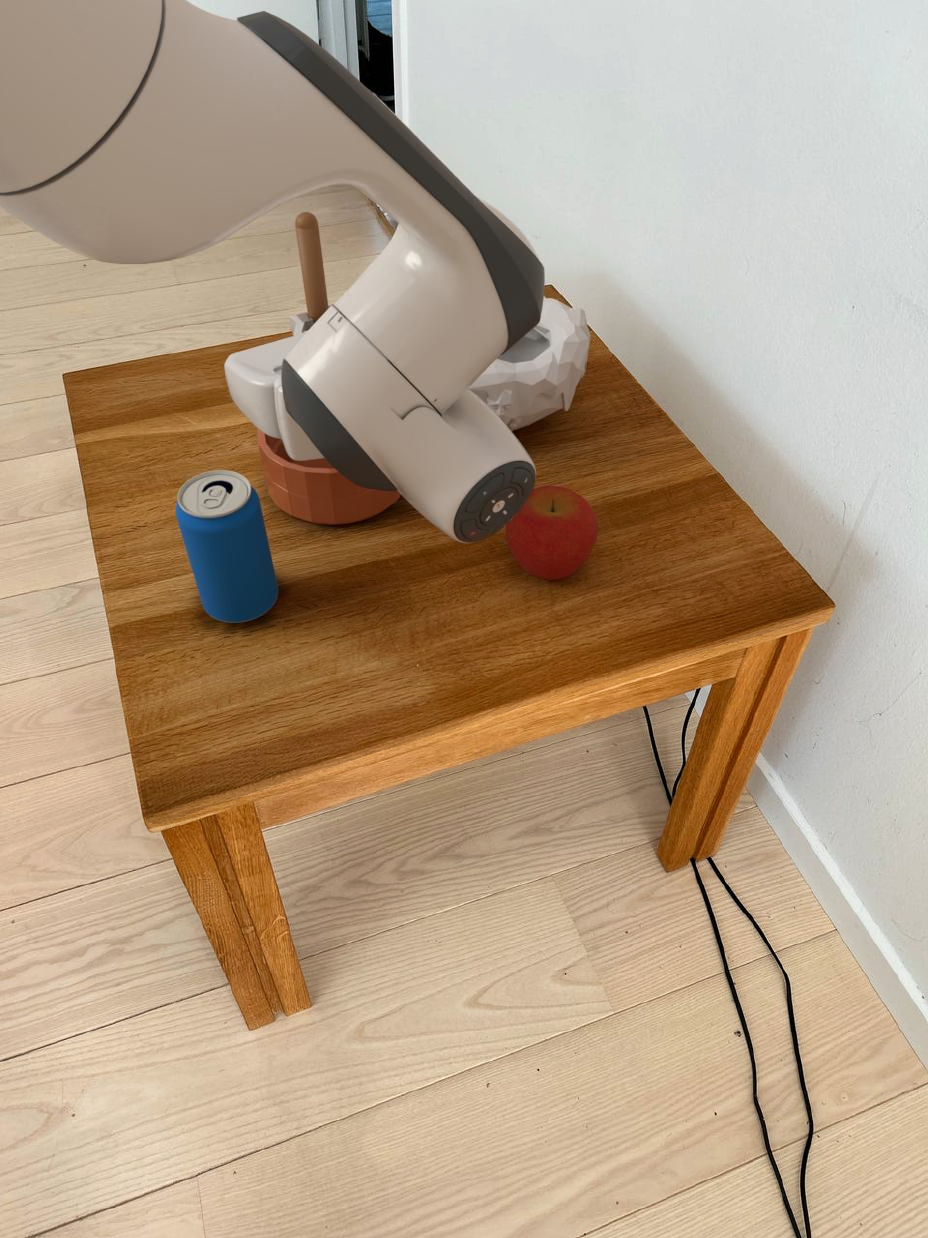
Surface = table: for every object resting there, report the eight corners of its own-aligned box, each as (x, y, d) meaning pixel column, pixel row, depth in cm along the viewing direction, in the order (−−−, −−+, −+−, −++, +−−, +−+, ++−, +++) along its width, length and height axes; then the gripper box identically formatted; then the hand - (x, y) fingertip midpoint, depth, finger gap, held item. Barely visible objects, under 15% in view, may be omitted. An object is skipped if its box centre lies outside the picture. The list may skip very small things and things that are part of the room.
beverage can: (287, 578, 82) (265, 468, 73) (269, 631, 78) (244, 521, 69) (216, 573, 82) (186, 464, 74) (194, 626, 78) (159, 516, 69)
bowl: (609, 454, 94) (620, 366, 87) (409, 474, 92) (404, 386, 85) (563, 349, 108) (569, 266, 101) (389, 364, 106) (383, 281, 99)
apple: (596, 596, 80) (605, 528, 74) (505, 596, 80) (507, 528, 75) (589, 537, 85) (597, 469, 80) (503, 537, 86) (506, 469, 80)
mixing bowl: (335, 548, 85) (328, 492, 80) (239, 486, 91) (226, 431, 86) (437, 478, 92) (435, 422, 87) (341, 425, 98) (335, 371, 93)
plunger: (332, 454, 84) (302, 234, 69) (291, 431, 87) (253, 214, 72) (376, 427, 87) (356, 210, 72) (335, 405, 90) (307, 191, 75)
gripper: (504, 320, 72) (419, 252, 81) (259, 396, 65) (194, 313, 74) (502, 390, 77) (422, 319, 85) (273, 468, 70) (210, 382, 78)
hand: (314, 316), depth 79 cm, fingers closed on plunger
